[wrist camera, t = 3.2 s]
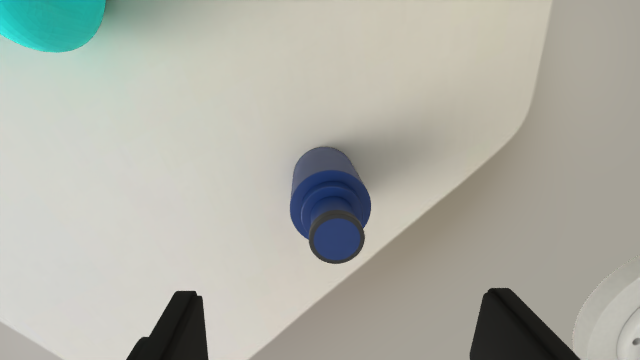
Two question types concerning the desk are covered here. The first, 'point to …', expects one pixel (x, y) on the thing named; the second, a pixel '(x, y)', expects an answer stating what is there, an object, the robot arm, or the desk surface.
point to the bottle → (329, 204)
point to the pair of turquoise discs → (51, 22)
